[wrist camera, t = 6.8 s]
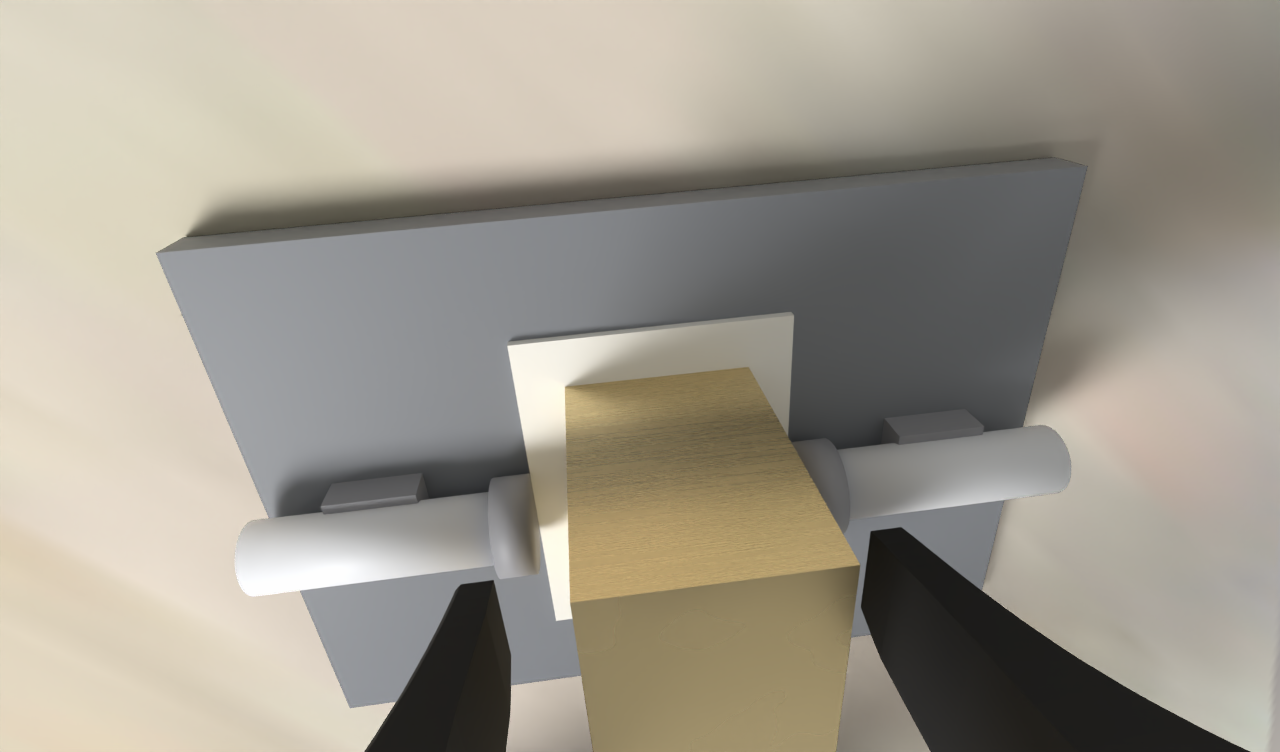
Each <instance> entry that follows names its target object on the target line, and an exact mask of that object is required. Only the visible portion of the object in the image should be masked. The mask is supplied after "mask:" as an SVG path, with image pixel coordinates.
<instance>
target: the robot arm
mask: <svg viewBox="0 0 1280 752" xmlns="http://www.w3.org/2000/svg"><path fill="white" fill-rule="evenodd" d="M861 609H862V612H863V615H864V617H865V620H866V623H867V625H868V628H869V631H870V633H871V636H872V638H873V641H874V643H875V646H876V648H877V650H878V653H879V655H880V658H881V660H882V662H883V664H884V666H885V667H886V669H887V671H888V673H889V675H890V677H891V679H892V681H893V683H894V684H895V686H896V688H897V690H898V692H899V694H900V696H901V698H902V699H903V701H904V703H905V705H906V707H907V709H908V711H909V712H910V714H911V716H912V718H913V720H914V722H915V723H916V725H917V727H918V729H919V731H920V733H921V734H922V736H923V738H924V740H925V742H926V744H927V746H928V747H929V749H930V751H931V752H1250V751H1247V750H1245V749H1243V748H1241V747H1239V746H1237V745H1235V744H1232V743H1230V742H1228V741H1226V740H1224V739H1222V738H1220V737H1218V736H1216V735H1214V734H1212V733H1210V732H1208V731H1206V730H1204V729H1202V728H1200V727H1198V726H1196V725H1194V724H1192V723H1191V722H1189V721H1187V720H1185V719H1183V718H1181V717H1179V716H1177V715H1176V714H1174V713H1172V712H1170V711H1168V710H1166V709H1164V708H1162V707H1161V706H1159V705H1157V704H1155V703H1153V702H1151V701H1149V700H1148V699H1146V698H1144V697H1142V696H1140V695H1139V694H1137V693H1135V692H1133V691H1132V690H1130V689H1128V688H1126V687H1125V686H1123V685H1121V684H1119V683H1118V682H1116V681H1115V680H1113V679H1111V678H1110V677H1108V676H1106V675H1105V674H1103V673H1101V672H1100V671H1098V670H1096V669H1095V668H1093V667H1091V666H1090V665H1088V664H1087V663H1085V662H1083V661H1082V660H1080V659H1078V658H1077V657H1075V656H1074V655H1072V654H1071V653H1069V652H1068V651H1066V650H1064V649H1063V648H1061V647H1060V646H1058V645H1057V644H1055V643H1054V642H1053V641H1051V640H1050V639H1048V638H1047V637H1045V636H1044V635H1042V634H1041V633H1039V632H1038V631H1037V630H1035V629H1034V628H1032V627H1031V626H1029V625H1028V624H1026V623H1025V622H1023V621H1022V620H1021V619H1019V618H1018V617H1017V616H1015V615H1014V614H1012V613H1011V612H1010V611H1008V610H1007V609H1006V608H1004V607H1003V606H1001V605H1000V604H999V603H997V602H996V601H995V600H993V599H992V598H991V597H989V596H988V595H987V594H985V593H984V592H983V591H982V590H980V589H979V588H978V587H976V586H975V585H974V584H972V583H971V582H970V581H969V580H967V579H966V578H965V577H963V576H962V575H961V574H960V573H958V572H957V571H956V570H955V569H953V568H952V567H951V566H950V565H948V564H947V563H946V562H945V561H943V560H942V559H941V558H940V557H938V556H937V555H936V554H935V553H933V552H932V551H931V550H930V549H928V548H927V547H926V546H925V545H923V544H922V543H921V542H920V541H918V540H917V539H916V538H915V537H913V536H912V535H911V534H910V533H908V532H907V531H906V530H905V529H903V528H902V527H898V528H890V529H882V530H875V531H871V532H870V540H869V548H868V555H867V563H866V570H865V578H864V585H863V593H862V601H861ZM510 705H511V652H510V648H509V643H508V639H507V635H506V631H505V626H504V622H503V618H502V613H501V609H500V605H499V600H498V596H497V592H496V587H495V583H494V580H490V581H482V582H475V583H467V584H461V585H460V586H459V587H458V588H457V589H456V590H455V592H454V595H453V597H452V599H451V601H450V603H449V605H448V608H447V610H446V612H445V614H444V616H443V618H442V620H441V622H440V624H439V626H438V628H437V630H436V632H435V634H434V636H433V638H432V640H431V642H430V643H429V645H428V647H427V649H426V651H425V653H424V655H423V656H422V658H421V660H420V662H419V664H418V665H417V667H416V669H415V671H414V672H413V674H412V676H411V678H410V680H409V681H408V683H407V685H406V687H405V688H404V690H403V692H402V693H401V695H400V697H399V698H398V700H397V702H396V703H395V705H394V706H393V708H392V710H391V711H390V713H389V714H388V716H387V718H386V719H385V721H384V722H383V724H382V726H381V727H380V729H379V730H378V732H377V733H376V735H375V737H374V738H373V740H372V741H371V743H370V744H369V746H368V747H367V749H366V750H365V752H506V744H507V736H508V727H509V719H510Z"/></svg>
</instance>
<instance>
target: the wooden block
mask: <svg viewBox="0 0 1280 752" xmlns="http://www.w3.org/2000/svg"><path fill="white" fill-rule="evenodd" d="M565 421H566V462H567V502H568V543H569V583H570V606H571V613H572V619H573V625H574V632H575V638H576V645H577V651H578V658H579V664H580V670H581V677H582V683H583V690H584V696H585V703H586V709H587V715H588V722H589V728H590V735H591V741H592V748H593V752H836V748H837V740H838V732H839V725H840V717H841V709H842V702H843V694H844V686H845V679H846V671H847V664H848V656H849V648H850V641H851V633H852V625H853V618H854V610H855V603H856V595H857V587H858V580H859V572H860V563H859V562H858V560H857V558H856V556H855V554H854V553H853V551H852V549H851V547H850V546H849V544H848V542H847V540H846V538H845V537H844V535H843V533H842V531H841V530H840V528H839V526H838V524H837V523H836V521H835V519H834V517H833V515H832V514H831V512H830V510H829V508H828V507H827V505H826V503H825V501H824V499H823V498H822V496H821V494H820V492H819V491H818V489H817V487H816V485H815V484H814V482H813V480H812V478H811V476H810V475H809V473H808V471H807V469H806V468H805V466H804V464H803V462H802V460H801V459H800V457H799V455H798V453H797V452H796V450H795V448H794V446H793V445H792V443H791V441H790V439H789V437H788V436H787V434H786V432H785V430H784V429H783V427H782V425H781V423H780V421H779V420H778V418H777V416H776V414H775V413H774V411H773V409H772V407H771V406H770V404H769V402H768V400H767V398H766V397H765V395H764V393H763V391H762V390H761V388H760V386H759V384H758V382H757V381H756V379H755V377H754V375H753V374H752V372H751V370H750V368H749V367H743V368H734V369H724V370H715V371H706V372H697V373H687V374H678V375H669V376H660V377H650V378H641V379H632V380H622V381H613V382H604V383H595V384H585V385H576V386H567V387H565Z"/></svg>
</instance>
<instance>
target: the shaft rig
mask: <svg viewBox="0 0 1280 752" xmlns="http://www.w3.org/2000/svg"><path fill="white" fill-rule="evenodd" d="M1087 167H1088V166H1085V165H1081V164H1078V163H1074V162H1070V161H1066V160H1063V159H1059V158H1055V157H1054V158H1043V159H1032V160H1021V161H1010V162H999V163H989V164H978V165H967V166H956V167H945V168H934V169H923V170H912V171H902V172H891V173H880V174H869V175H858V176H847V177H836V178H826V179H815V180H804V181H793V182H782V183H771V184H760V185H749V186H739V187H728V188H717V189H706V190H695V191H684V192H673V193H663V194H652V195H641V196H630V197H619V198H608V199H597V200H586V201H576V202H565V203H554V204H543V205H532V206H521V207H510V208H499V209H489V210H478V211H467V212H456V213H445V214H434V215H423V216H413V217H402V218H391V219H380V220H369V221H358V222H347V223H336V224H326V225H315V226H304V227H293V228H282V229H271V230H260V231H250V232H239V233H228V234H217V235H206V236H195V237H184V238H181V239H180V240H178V241H176V242H174V243H173V244H171V245H169V246H167V247H166V248H164V249H162V250H160V251H159V252H157V253H156V255H157V257H158V259H159V262H160V264H161V266H162V269H163V271H164V273H165V276H166V278H167V280H168V283H169V285H170V287H171V290H172V292H173V294H174V297H175V299H176V302H177V304H178V306H179V309H180V311H181V313H182V316H183V318H184V320H185V323H186V325H187V327H188V330H189V332H190V334H191V337H192V339H193V341H194V344H195V346H196V348H197V351H198V353H199V355H200V358H201V360H202V362H203V365H204V367H205V369H206V372H207V374H208V376H209V379H210V381H211V384H212V386H213V388H214V391H215V393H216V395H217V398H218V400H219V402H220V405H221V407H222V409H223V412H224V414H225V416H226V419H227V421H228V423H229V426H230V428H231V430H232V433H233V435H234V437H235V440H236V442H237V444H238V447H239V449H240V451H241V454H242V456H243V458H244V461H245V463H246V466H247V468H248V470H249V473H250V475H251V477H252V480H253V482H254V484H255V487H256V489H257V491H258V494H259V496H260V498H261V501H262V503H263V505H264V508H265V510H266V512H267V515H268V517H269V518H268V519H260V520H253V521H250V522H249V523H247V524H246V525H245V526H244V528H243V529H242V531H241V533H240V535H239V538H238V541H237V545H236V550H235V570H236V576H237V579H238V582H239V585H240V587H241V588H242V590H243V591H244V592H245V593H246V594H247V595H249V596H261V595H269V594H277V593H285V592H293V591H300V592H301V594H302V597H303V599H304V601H305V604H306V606H307V608H308V611H309V613H310V615H311V618H312V620H313V622H314V625H315V627H316V629H317V632H318V634H319V637H320V639H321V641H322V644H323V646H324V648H325V651H326V653H327V655H328V658H329V660H330V662H331V665H332V667H333V669H334V672H335V674H336V676H337V679H338V681H339V683H340V686H341V688H342V690H343V693H344V695H345V697H346V700H347V702H348V704H349V707H350V708H354V707H361V706H368V705H376V704H383V703H390V702H397V700H398V698H399V697H400V695H401V693H402V692H403V690H404V688H405V687H406V685H407V683H408V681H409V680H410V678H411V676H412V674H413V672H414V671H415V669H416V667H417V665H418V664H419V662H420V660H421V658H422V656H423V655H424V653H425V651H426V649H427V647H428V645H429V643H430V642H431V640H432V638H433V636H434V634H435V632H436V630H437V628H438V626H439V624H440V622H441V620H442V618H443V616H444V614H445V612H446V610H447V608H448V605H449V603H450V601H451V599H452V597H453V595H454V592H455V590H456V589H457V588H458V587H459V586H460V585H461V584H467V583H475V582H482V581H490V580H494V583H495V587H496V592H497V596H498V600H499V605H500V609H501V613H502V618H503V622H504V626H505V631H506V635H507V639H508V643H509V648H510V652H511V685H517V684H524V683H532V682H539V681H546V680H553V679H560V678H567V677H574V676H581V670H580V664H579V658H578V651H577V645H576V638H575V632H574V625H573V619H572V613H571V606H570V583H569V543H568V502H567V462H566V421H565V387H567V386H576V385H585V384H595V383H604V382H613V381H622V380H632V379H641V378H650V377H660V376H669V375H678V374H687V373H697V372H706V371H715V370H724V369H734V368H743V367H749V368H750V370H751V372H752V374H753V375H754V377H755V379H756V381H757V382H758V384H759V386H760V388H761V390H762V391H763V393H764V395H765V397H766V398H767V400H768V402H769V404H770V406H771V407H772V409H773V411H774V413H775V414H776V416H777V418H778V420H779V421H780V423H781V425H782V427H783V429H784V430H785V432H786V434H787V436H788V437H789V439H790V441H791V443H792V445H793V446H794V448H795V450H796V452H797V453H798V455H799V457H800V459H801V460H802V462H803V464H804V466H805V468H806V469H807V471H808V473H809V475H810V476H811V478H812V480H813V482H814V484H815V485H816V487H817V489H818V491H819V492H820V494H821V496H822V498H823V499H824V501H825V503H826V505H827V507H828V508H829V510H830V512H831V514H832V515H833V517H834V519H835V521H836V523H837V524H838V526H839V528H840V530H841V531H842V533H843V535H844V537H845V538H846V540H847V542H848V544H849V546H850V547H851V549H852V551H853V553H854V554H855V556H856V558H857V560H858V562H859V563H860V572H859V580H858V587H857V595H856V603H855V610H854V618H853V625H852V633H851V637H858V636H865V635H871V633H870V631H869V628H868V625H867V623H866V620H865V617H864V615H863V612H862V609H861V601H862V593H863V585H864V578H865V570H866V563H867V555H868V548H869V540H870V532H871V531H875V530H882V529H890V528H898V527H902V528H903V529H905V530H906V531H907V532H908V533H910V534H911V535H912V536H913V537H915V538H916V539H917V540H918V541H920V542H921V543H922V544H923V545H925V546H926V547H927V548H928V549H930V550H931V551H932V552H933V553H935V554H936V555H937V556H938V557H940V558H941V559H942V560H943V561H945V562H946V563H947V564H948V565H950V566H951V567H952V568H953V569H955V570H956V571H957V572H958V573H960V574H961V575H962V576H963V577H965V578H966V579H967V580H969V581H970V582H971V583H972V584H974V585H975V586H976V587H978V588H979V589H980V590H982V587H983V583H984V579H985V575H986V571H987V567H988V563H989V559H990V555H991V551H992V547H993V543H994V539H995V535H996V531H997V527H998V523H999V519H1000V515H1001V511H1002V507H1003V503H1004V500H1008V499H1016V498H1024V497H1032V496H1040V495H1047V494H1055V493H1059V492H1061V491H1063V490H1064V489H1065V488H1066V487H1067V485H1068V483H1069V481H1070V477H1071V460H1070V455H1069V452H1068V449H1067V447H1066V445H1065V443H1064V441H1063V440H1062V438H1061V437H1060V436H1059V434H1058V433H1057V432H1056V431H1054V430H1053V429H1052V428H1050V427H1048V426H1044V425H1038V426H1029V427H1023V423H1024V419H1025V415H1026V411H1027V407H1028V403H1029V399H1030V395H1031V391H1032V387H1033V383H1034V379H1035V375H1036V371H1037V367H1038V363H1039V359H1040V355H1041V351H1042V347H1043V343H1044V339H1045V335H1046V331H1047V327H1048V323H1049V319H1050V315H1051V311H1052V307H1053V303H1054V299H1055V295H1056V291H1057V287H1058V283H1059V279H1060V275H1061V271H1062V267H1063V263H1064V259H1065V255H1066V251H1067V247H1068V243H1069V239H1070V235H1071V231H1072V227H1073V223H1074V219H1075V215H1076V211H1077V207H1078V203H1079V199H1080V195H1081V191H1082V187H1083V183H1084V179H1085V175H1086V171H1087Z"/></svg>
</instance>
